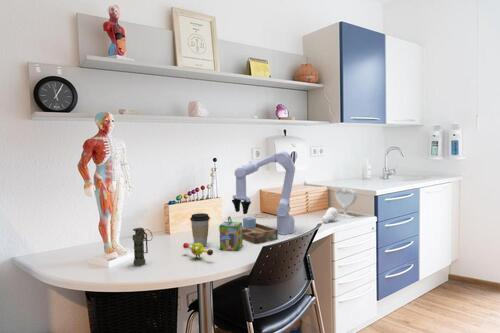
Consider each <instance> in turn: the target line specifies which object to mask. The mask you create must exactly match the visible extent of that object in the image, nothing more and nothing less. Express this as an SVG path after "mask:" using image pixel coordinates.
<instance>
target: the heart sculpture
mask: <svg viewBox="0 0 500 333" xmlns="http://www.w3.org/2000/svg"><path fill="white" fill-rule="evenodd" d="M334 196H335V200H336V202H337V203H338V205H339V206H341V207H342V208H343V213H338V216H340V215H341V217H344V216H345V218H349V217H350V218H351V217H354V218H355V216H354V215H350V214H348V208H349V207H351V206H353V205H354V204H355V203H356V201H357V198H358V193H357V191H356V190H354V189H352V188H348V189H347V188H344V187H343V188H337V189H335V190H334ZM350 218H349V219H350ZM351 219H352V218H351Z"/></svg>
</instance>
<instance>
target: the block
mask: <svg viewBox="0 0 500 333" xmlns="http://www.w3.org/2000/svg"><path fill="white" fill-rule="evenodd" d="M256 223H257V218H254V217H251V216H249V217H244V218H242V227H244V228H246V229H252V228H256Z"/></svg>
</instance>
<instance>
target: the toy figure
mask: <svg viewBox="0 0 500 333" xmlns="http://www.w3.org/2000/svg"><path fill="white" fill-rule="evenodd" d="M182 247H183V248H184V249H190V250H191V254H192V255H194V256H195V257H194V259H196V260H200V259H201V255H202V254H203V253H206V254H207V255H208V256H212V255H213V254H214V251H213V249H207V250H206V249H204V247H203V245H202V244H200V243H195V244H194V243H193V244H192V245H190V244H189V243H188V242H185V243H183V246H182Z"/></svg>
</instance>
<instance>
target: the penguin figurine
mask: <svg viewBox="0 0 500 333" xmlns="http://www.w3.org/2000/svg"><path fill="white" fill-rule="evenodd" d="M338 214H339V212H338V209H337V208H336V207H334V206H333V207H329V208H328V209H327V210H326V212H325V213H324V215H323V216H322V217H321V221H322V222H323V224H328V223H329V222H330V220H331V221H333V222H334V223H336V222H337V218H338V216H339V215H338ZM328 220H329V221H328Z"/></svg>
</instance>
